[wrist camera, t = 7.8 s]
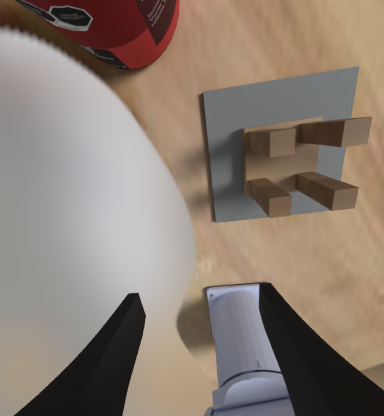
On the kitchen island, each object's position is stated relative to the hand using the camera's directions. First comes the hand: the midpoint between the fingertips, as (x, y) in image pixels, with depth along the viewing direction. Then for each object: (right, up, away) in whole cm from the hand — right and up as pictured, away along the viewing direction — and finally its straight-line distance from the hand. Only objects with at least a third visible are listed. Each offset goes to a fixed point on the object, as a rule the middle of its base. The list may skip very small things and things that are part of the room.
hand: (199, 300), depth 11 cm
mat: (+7, +10, +6) cm, 14 cm away
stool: (+7, +10, +6) cm, 14 cm away
